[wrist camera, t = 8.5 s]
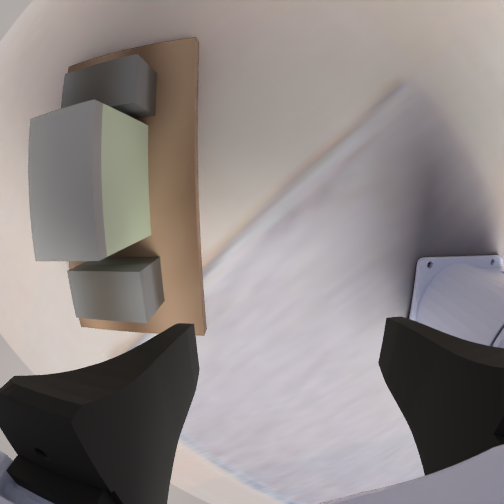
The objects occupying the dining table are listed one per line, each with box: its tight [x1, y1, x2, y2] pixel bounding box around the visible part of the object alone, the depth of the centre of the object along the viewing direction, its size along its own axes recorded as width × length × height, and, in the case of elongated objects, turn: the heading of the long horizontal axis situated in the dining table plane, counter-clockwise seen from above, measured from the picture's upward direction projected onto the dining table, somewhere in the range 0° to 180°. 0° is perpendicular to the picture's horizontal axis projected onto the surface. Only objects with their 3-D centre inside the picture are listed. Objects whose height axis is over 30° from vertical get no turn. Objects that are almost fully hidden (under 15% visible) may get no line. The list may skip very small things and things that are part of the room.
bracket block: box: [28, 99, 151, 261], centre depth 14 cm, size 4×7×7 cm, turn 1°
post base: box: [61, 37, 207, 336], centre depth 16 cm, size 10×20×4 cm, turn 1°
